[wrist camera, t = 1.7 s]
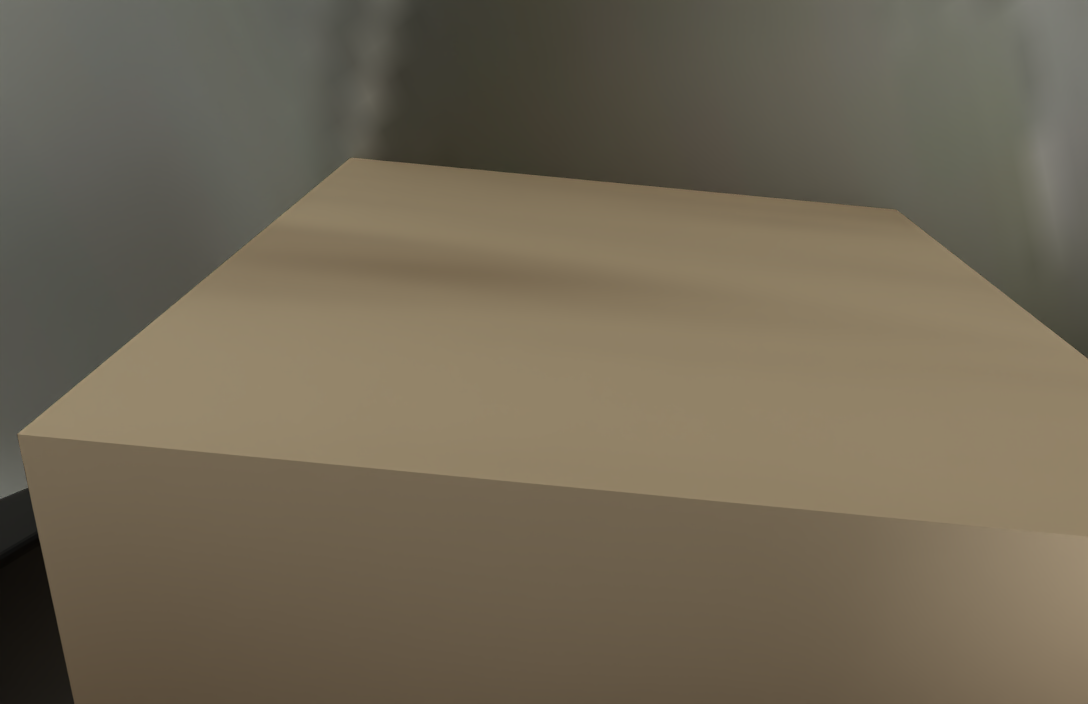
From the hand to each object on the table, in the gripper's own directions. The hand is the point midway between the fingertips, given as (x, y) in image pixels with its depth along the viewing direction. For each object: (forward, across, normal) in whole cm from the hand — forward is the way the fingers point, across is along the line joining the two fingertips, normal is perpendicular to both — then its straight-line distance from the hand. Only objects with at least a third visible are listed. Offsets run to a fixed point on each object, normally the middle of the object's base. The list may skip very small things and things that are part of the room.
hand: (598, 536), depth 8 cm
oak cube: (+2, 0, 0) cm, 2 cm away
